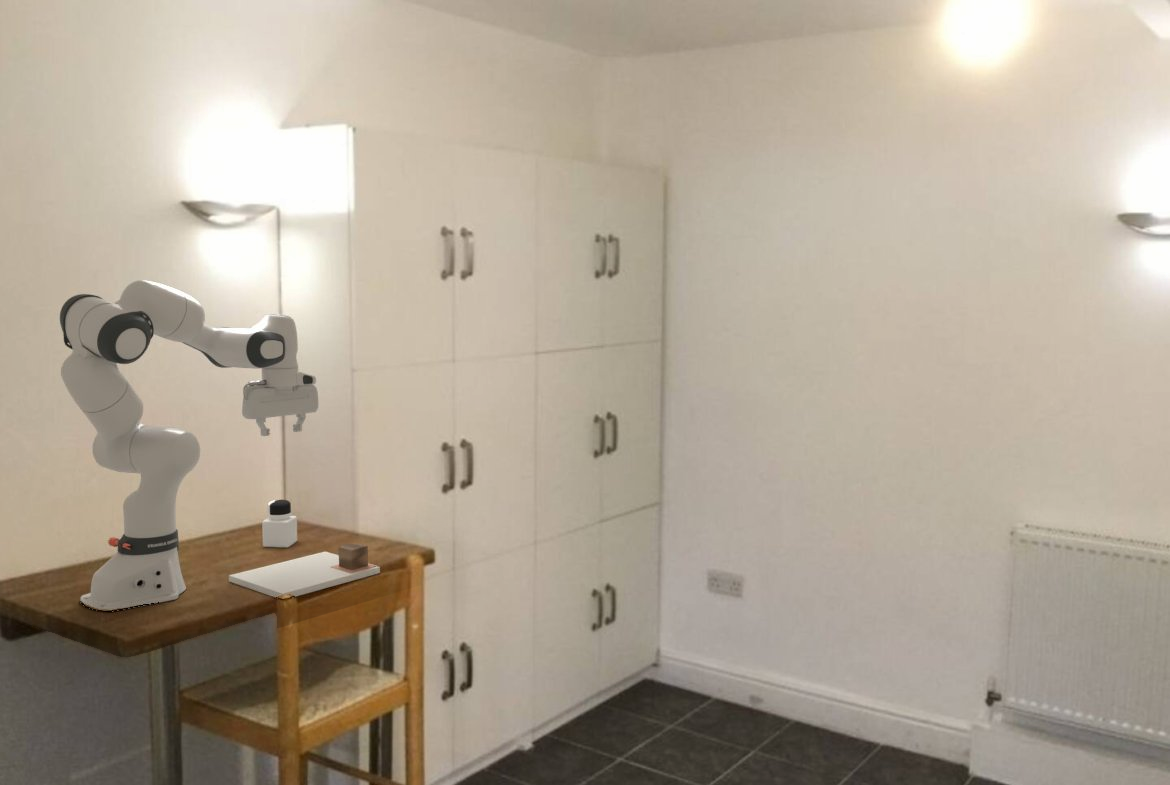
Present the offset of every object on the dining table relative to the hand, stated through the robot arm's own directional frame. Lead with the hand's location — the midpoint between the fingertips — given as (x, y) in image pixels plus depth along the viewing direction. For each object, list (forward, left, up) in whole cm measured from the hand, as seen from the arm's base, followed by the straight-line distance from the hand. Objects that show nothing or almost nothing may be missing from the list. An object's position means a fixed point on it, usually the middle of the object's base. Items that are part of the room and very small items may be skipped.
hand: (281, 433), depth 268 cm
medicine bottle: (+10, +17, -34) cm, 39 cm away
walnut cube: (+6, -20, -32) cm, 38 cm away
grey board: (-4, -14, -33) cm, 37 cm away
